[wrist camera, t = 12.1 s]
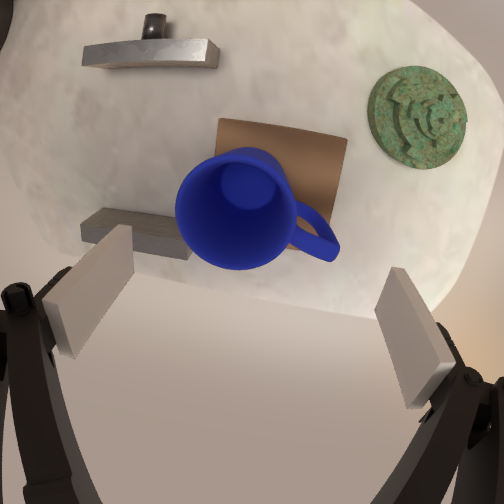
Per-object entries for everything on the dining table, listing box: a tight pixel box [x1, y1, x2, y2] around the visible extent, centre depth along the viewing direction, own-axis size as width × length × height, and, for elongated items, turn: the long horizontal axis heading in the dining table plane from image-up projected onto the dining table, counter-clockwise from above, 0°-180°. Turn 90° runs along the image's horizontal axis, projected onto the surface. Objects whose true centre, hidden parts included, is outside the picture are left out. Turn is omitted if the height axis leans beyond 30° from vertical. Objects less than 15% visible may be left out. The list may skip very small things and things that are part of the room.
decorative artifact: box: [367, 66, 468, 169], centre depth 23 cm, size 10×7×10 cm
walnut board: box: [215, 118, 347, 251], centre depth 30 cm, size 12×12×1 cm
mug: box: [175, 147, 340, 270], centre depth 25 cm, size 8×12×10 cm
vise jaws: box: [80, 13, 220, 260], centre depth 26 cm, size 23×12×5 cm, turn 172°
